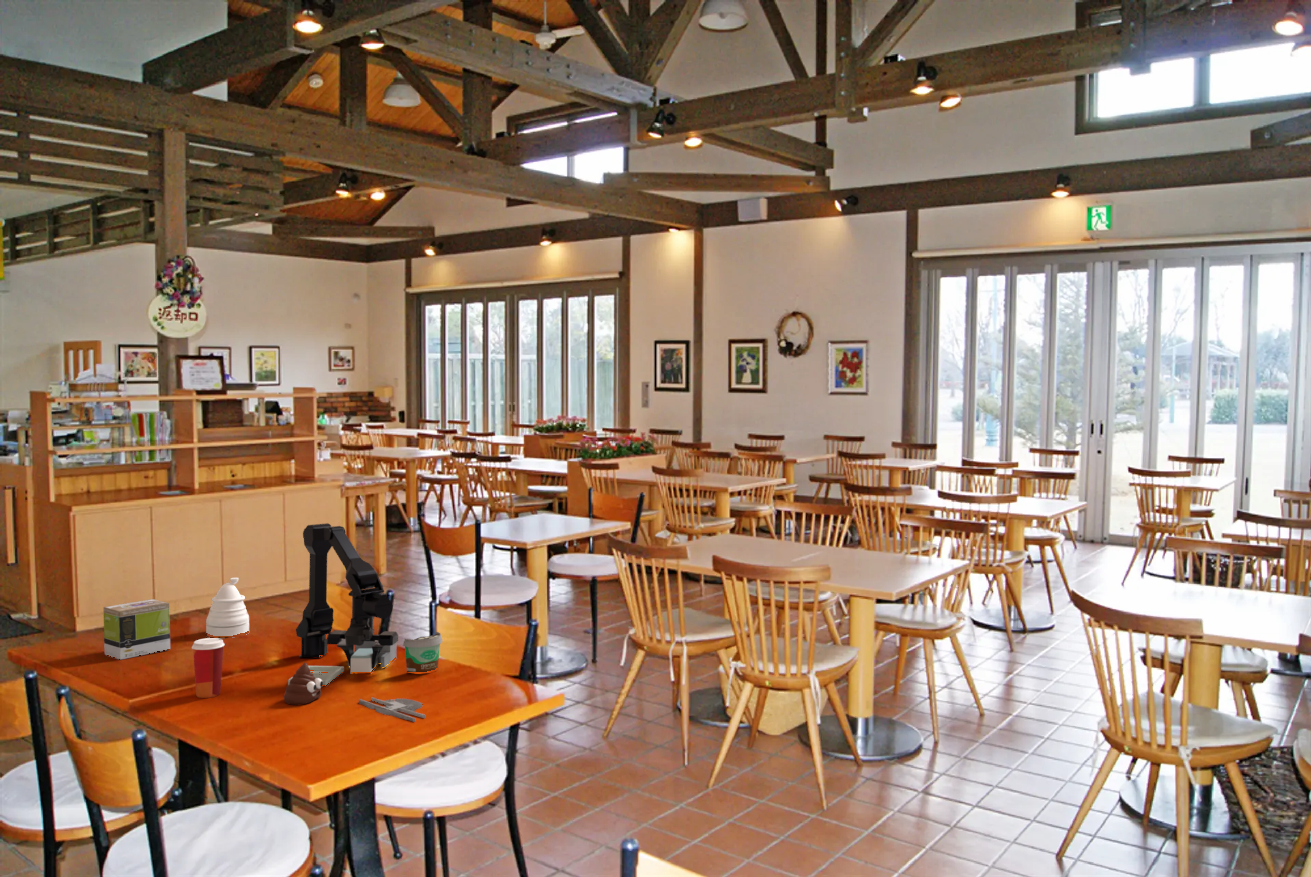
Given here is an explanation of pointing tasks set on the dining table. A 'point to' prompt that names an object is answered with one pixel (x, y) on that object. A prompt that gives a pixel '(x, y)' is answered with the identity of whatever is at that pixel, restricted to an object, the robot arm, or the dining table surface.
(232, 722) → the dining table surface
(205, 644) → the paper cup
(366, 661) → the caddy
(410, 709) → the grey toy spaceship
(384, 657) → the bay
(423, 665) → the food container
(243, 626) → the honey pot
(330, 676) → the tray
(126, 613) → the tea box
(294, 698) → the poop emoji
